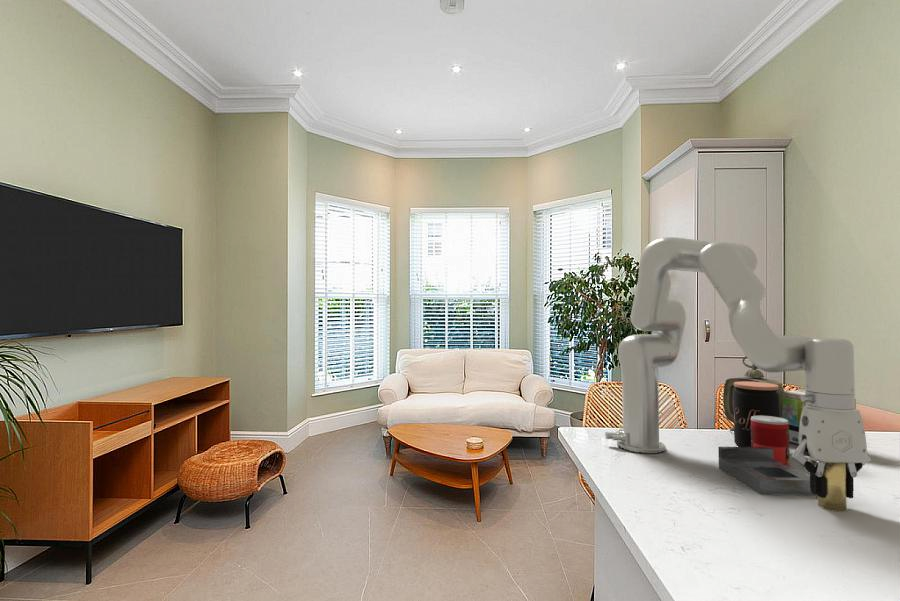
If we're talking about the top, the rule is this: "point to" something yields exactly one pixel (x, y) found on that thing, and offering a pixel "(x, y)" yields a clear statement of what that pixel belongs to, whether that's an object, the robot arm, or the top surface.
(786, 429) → the canned food
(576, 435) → the top surface
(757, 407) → the coffee jar
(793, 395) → the tea box
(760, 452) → the frame
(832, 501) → the pale yellow cylinder
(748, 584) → the top surface
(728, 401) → the tabletop clock
